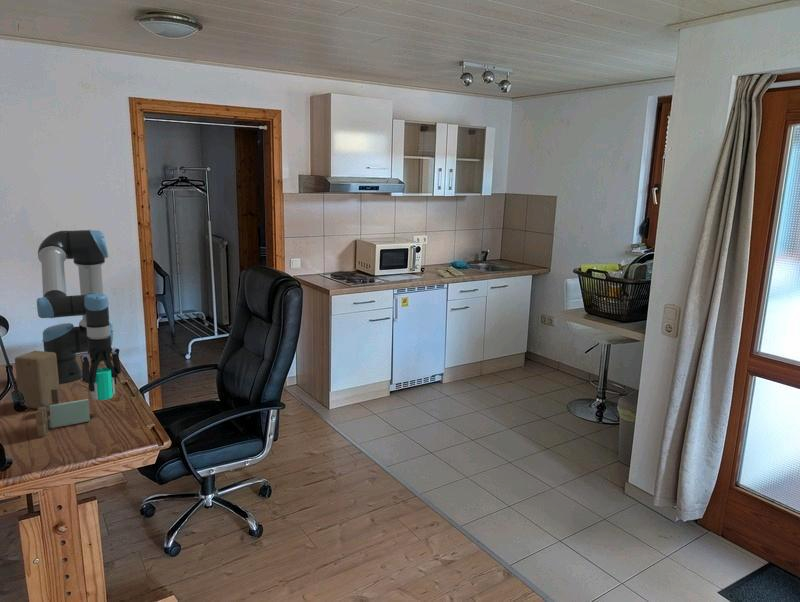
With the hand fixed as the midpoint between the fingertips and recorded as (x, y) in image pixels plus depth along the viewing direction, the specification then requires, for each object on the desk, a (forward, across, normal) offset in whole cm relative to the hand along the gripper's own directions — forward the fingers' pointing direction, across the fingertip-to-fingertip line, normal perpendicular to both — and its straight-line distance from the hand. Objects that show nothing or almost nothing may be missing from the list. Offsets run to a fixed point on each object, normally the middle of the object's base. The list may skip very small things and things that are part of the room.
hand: (103, 395), depth 213 cm
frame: (+7, +16, -7) cm, 19 cm away
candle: (+1, 0, 0) cm, 1 cm away
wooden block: (+8, +9, -28) cm, 30 cm away
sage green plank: (+6, +13, 0) cm, 14 cm away
